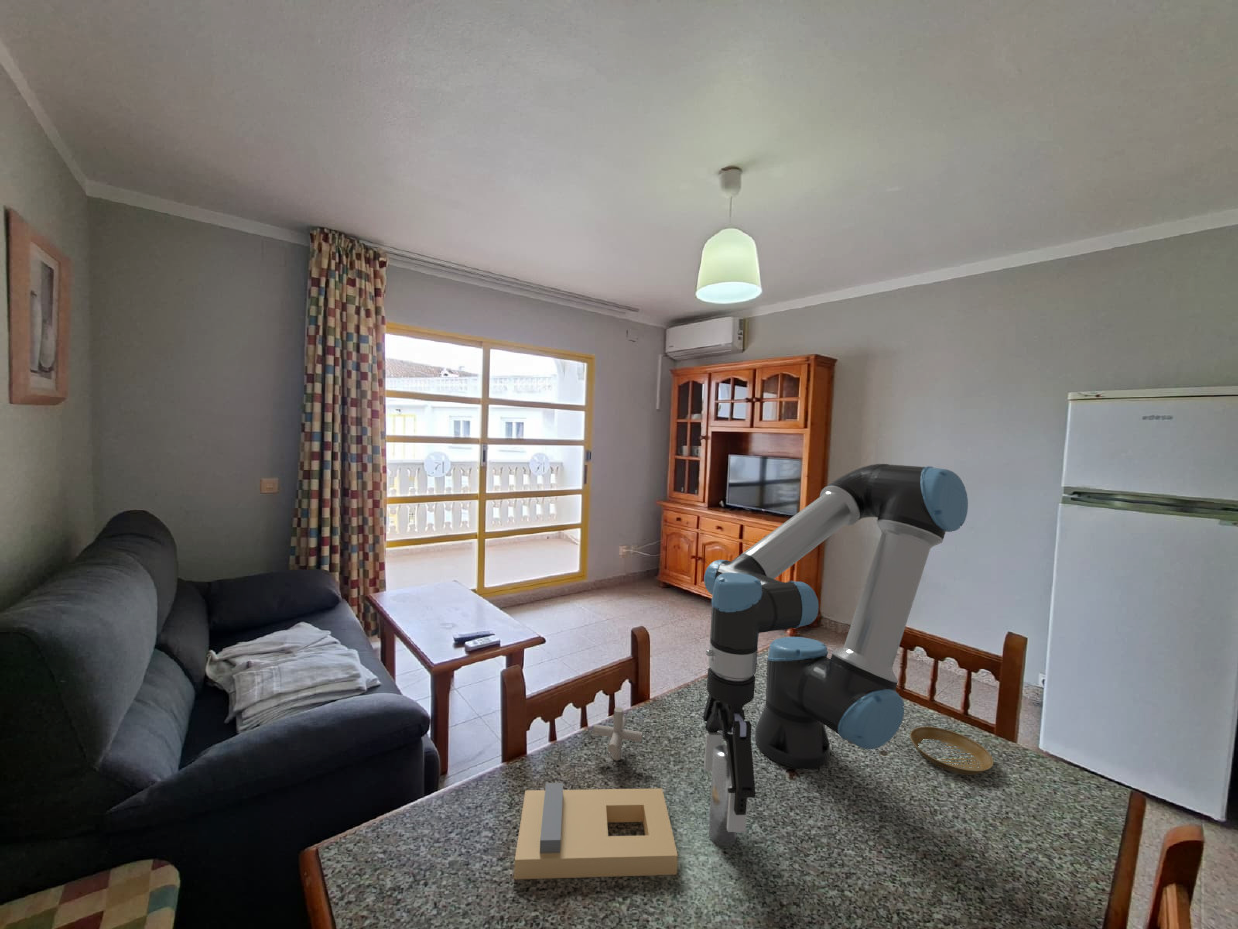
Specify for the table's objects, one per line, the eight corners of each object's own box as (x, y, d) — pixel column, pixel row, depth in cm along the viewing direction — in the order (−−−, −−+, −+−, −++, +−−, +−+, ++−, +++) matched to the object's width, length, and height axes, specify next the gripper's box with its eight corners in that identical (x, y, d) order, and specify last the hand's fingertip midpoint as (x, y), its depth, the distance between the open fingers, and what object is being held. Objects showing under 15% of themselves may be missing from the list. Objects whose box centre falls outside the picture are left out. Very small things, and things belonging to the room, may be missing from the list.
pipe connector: (636, 778, 94) (639, 727, 93) (586, 769, 96) (588, 719, 95) (644, 746, 103) (646, 700, 103) (598, 738, 105) (600, 693, 105)
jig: (661, 804, 87) (662, 777, 87) (676, 874, 73) (678, 842, 73) (524, 807, 85) (525, 779, 85) (514, 879, 71) (515, 846, 71)
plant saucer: (1003, 792, 95) (1004, 778, 95) (915, 769, 100) (916, 757, 100) (979, 748, 108) (980, 737, 108) (903, 731, 114) (904, 720, 114)
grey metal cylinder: (731, 824, 83) (735, 745, 83) (739, 846, 79) (744, 762, 78) (705, 825, 83) (710, 745, 82) (712, 847, 79) (717, 762, 78)
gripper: (691, 639, 92) (684, 749, 93) (732, 713, 67) (722, 862, 68) (730, 639, 92) (723, 749, 93) (786, 713, 67) (775, 862, 68)
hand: (722, 797), depth 80 cm, fingers open, 13 cm apart
